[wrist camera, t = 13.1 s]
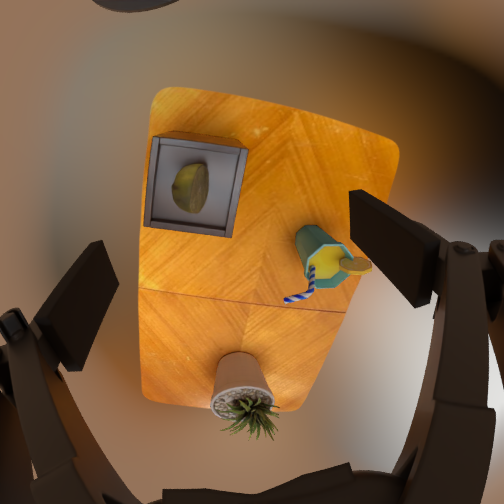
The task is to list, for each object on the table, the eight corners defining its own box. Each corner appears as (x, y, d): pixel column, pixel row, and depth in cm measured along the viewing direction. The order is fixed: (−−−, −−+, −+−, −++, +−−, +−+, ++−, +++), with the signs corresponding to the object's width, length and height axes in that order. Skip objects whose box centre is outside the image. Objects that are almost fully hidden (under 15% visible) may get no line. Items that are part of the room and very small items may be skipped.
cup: (273, 272, 53) (293, 325, 40) (259, 235, 50) (276, 282, 36) (344, 244, 52) (383, 288, 39) (335, 206, 49) (377, 241, 36)
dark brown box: (173, 130, 41) (152, 136, 27) (238, 139, 42) (248, 149, 29) (164, 193, 45) (143, 226, 31) (226, 201, 47) (231, 238, 33)
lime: (201, 154, 30) (198, 161, 25) (223, 192, 32) (224, 205, 27) (165, 175, 30) (157, 186, 26) (188, 212, 32) (184, 228, 28)
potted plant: (239, 390, 67) (248, 461, 49) (197, 364, 61) (196, 442, 43) (280, 365, 64) (299, 438, 46) (239, 335, 59) (250, 416, 41)
